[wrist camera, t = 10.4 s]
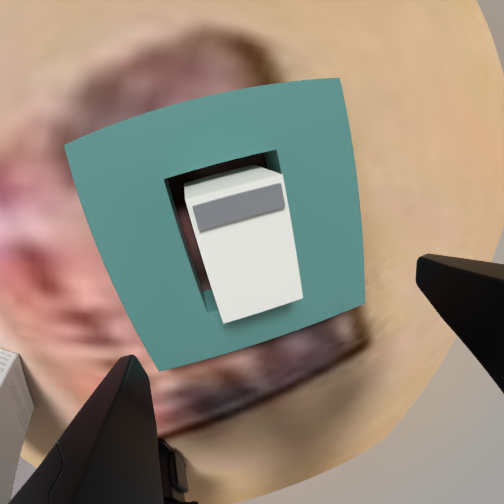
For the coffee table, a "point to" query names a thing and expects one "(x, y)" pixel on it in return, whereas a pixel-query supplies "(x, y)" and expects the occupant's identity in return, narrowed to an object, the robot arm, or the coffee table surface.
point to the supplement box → (12, 419)
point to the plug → (245, 240)
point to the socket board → (170, 229)
